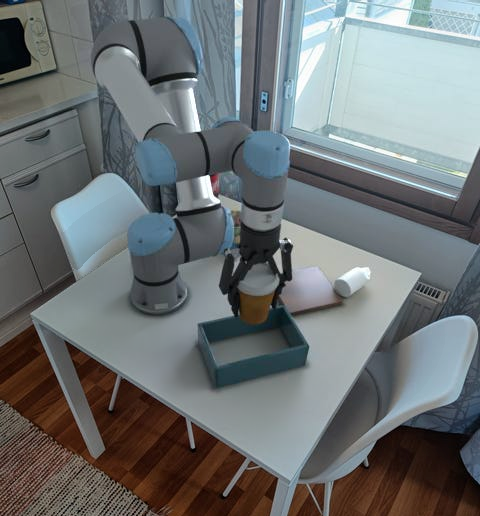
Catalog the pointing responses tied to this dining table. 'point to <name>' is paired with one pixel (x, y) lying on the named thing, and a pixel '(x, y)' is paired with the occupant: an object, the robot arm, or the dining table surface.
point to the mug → (236, 228)
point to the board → (308, 292)
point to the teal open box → (254, 365)
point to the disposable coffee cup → (257, 293)
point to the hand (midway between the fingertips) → (253, 308)
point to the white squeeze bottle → (352, 281)
